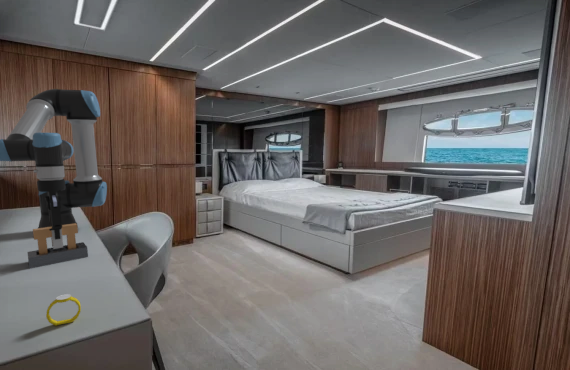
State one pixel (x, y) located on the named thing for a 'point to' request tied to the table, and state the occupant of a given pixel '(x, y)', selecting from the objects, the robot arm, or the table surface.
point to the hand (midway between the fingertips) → (57, 246)
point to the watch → (59, 300)
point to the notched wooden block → (44, 233)
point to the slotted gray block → (57, 255)
